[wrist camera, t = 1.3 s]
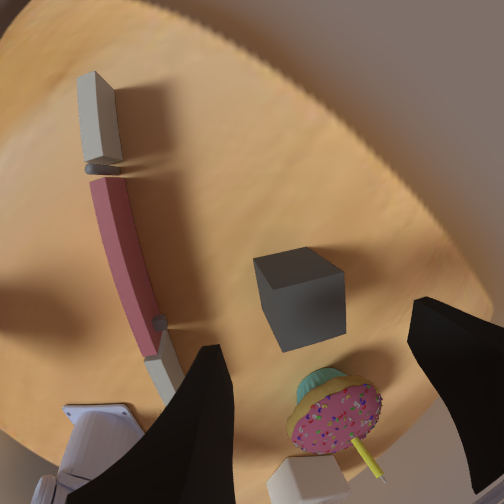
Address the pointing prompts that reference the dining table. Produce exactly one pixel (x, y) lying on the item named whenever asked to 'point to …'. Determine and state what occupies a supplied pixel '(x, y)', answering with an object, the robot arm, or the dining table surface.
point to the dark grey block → (301, 297)
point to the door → (127, 262)
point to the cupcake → (335, 414)
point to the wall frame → (107, 152)
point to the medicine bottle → (308, 481)
